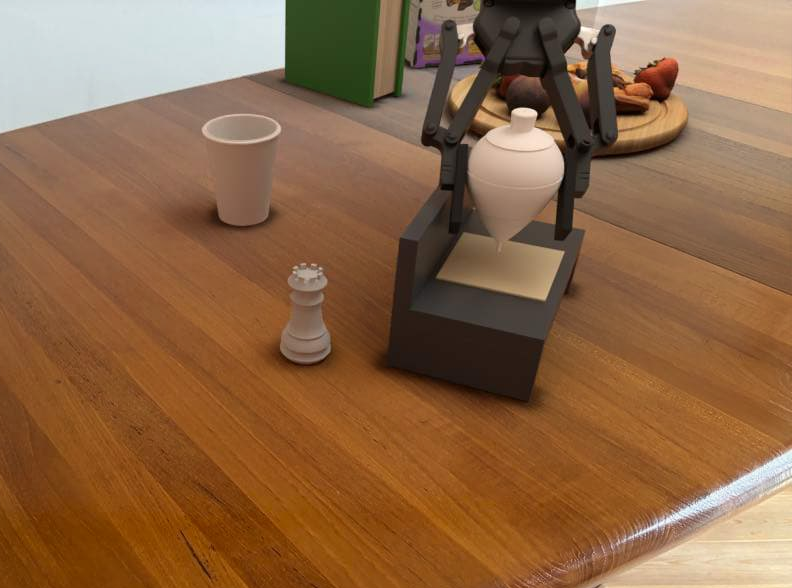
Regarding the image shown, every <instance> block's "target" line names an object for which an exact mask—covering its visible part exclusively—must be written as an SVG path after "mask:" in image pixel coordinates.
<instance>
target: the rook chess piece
mask: <svg viewBox="0 0 792 588" xmlns="http://www.w3.org/2000/svg"><path fill="white" fill-rule="evenodd" d="M287 283H288V285H289V287H290V288H291V289H292V292H291V293H290V296H289V299H290V301H291V303H292V304H291V306H292V307H291V312H290V317H289V321H288V322H287V323H286V326H285V328H284V329H283V330H282V332H281V336H280V345H279V350H280V352H281V353H282V355H283V356H284V357H285V358H286V359H287V360H288V361H290V362H293V363H295V364H299V365H312V364H317V363H319V362H321V361H323V360H325V358H326V357H327V356H328V355H329V354H330V352H332V351H331V350H332V349H331V348H332V345H331V334H330V332H329V330H328V329H327V326H326V324H325V323H324V320H323V312H322V302H323V301H324V299H325V295H324V293H323V292H322V291H323V289H324V288H325V287H326V286H327V285H328V279H327V277H326V276H325V275H324V269H323V267H322V266H319V267H318V264H317V263H311V264H310V267H307V263H306V262H304V263H299V266H297V265H295V266H294V267H292V273H291V275H289V276H288V278H287Z"/></svg>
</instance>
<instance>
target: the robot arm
mask: <svg viewBox="0 0 792 588" xmlns="http://www.w3.org/2000/svg"><path fill="white" fill-rule="evenodd" d="M616 33H617V29H616V27H615V26H614V25H613V24H611V23H607V24H604V25H602V26H601V28H600V29H597V28H593V27H587V26H584V25H582V22H581V20H580V18H579V16H578V13H577V0H481V1H480V12H479V14H478V16H477V17H476V18H475V20H474V22H473V23H467V24H460V25H456V22H455V21H453V20H449V19H448V20H445V21H444V22H443V23H442V27H441V32H440V39H439V49H440V57H441V59H440V63H439V66H437V67H438V68H437V71H436V74H435V79H434V81H433V86H432V90H431V94H430V98H429V101H428V104H427V109H426V112H425V115H424V116H425V117H424V120H423V124H422V129H421V136H420V143H421V145H422V146H423V147H426V148H430V147H432V148H435V149H437V150H438V151H439V153H440V158H441V159H440V167H439V179H438V185H439V186H440V189H441V190H445V191H452V198H451V209H450V220H449V231H448V234H458V231H459V229H460V226H461V222H462V211H463V200H464V189H465V178H466V167H467V156H468V147H469V143H462V142H463V140H464V138H465V136H466V135H467V132H469V131H468V130H470V129H469V127H470V125H471V123H472V122H473V120H474V118H475V116H476V114H477V112H478V111H479V109H480V107H481V105H482V103H483V101H484V100H485V98H486V96H487V94H488V92H489V90H490V89H491V87H492V86H493V84H494V83H495V81H496V79H497V77H498V75H499V73H501V74H500V76H508V77H510V76H515V75H523V76H527V77H535V78H539V80H540V82H541V85H542V87H543V89H544V90H546V92H547V95H548V98H549V100H550V103H551V106H552V108H553V111H554V114H555V117H556V119H557V122H558V125H559V128H560V130H561V133H562V136H563V138H564V141H565V144H566V147H567V149H568V150H567V152H566V153H564V155H563V156H562V157H563V160H564V177H563V179H562V183H561V185H560V188H559V189H558V191H557V198H556V211H555V222H554V224H555V235H554V240H555V241H564V240H565V239H566V238H567V236H568V235H569V234H570V232H571V231H572V227H573V224H574V209H575V199H582V198H583V197H584V196H585V194H586V193H587V191H588V189H589V187H590V179H591V163H592V158H593V157H596V156H600V157H603V156H606V155H608V154H607V153H608V152H609V150H610V149H611V147H612V146H613V145H614V143H615V142H616V140H617V139H618V127H617V117H616V107H615V96H614V86H613V76H612V66H611V63H612V58H611V51H612V47H613V44H614V41H615V37H616ZM470 40H473V41H474V43H475V44H476V46H477V47H478V49H479V50H480V51H481V53H482V54H483V56H484V57H485V61H484V63H483V65H482V67H481V69H480V68H479V71H478V72H477V73H478V75H477V77H476V78H475V80H474V82H473V84H472V86H471V88H470V89H469V91H468V93H467V95H466V97H465V99H464V100H463V102H462V104H461V106H460V108H459V110H458V111H457V113H456V115H455V117H454V116H453V118H452V121H451V122H450V124H449V126H448V128H447V127H444V126H441V122H442V117H443V114H444V109H445V106H446V103H447V99H448V96H449V91H450V87H451V83H452V79H453V75H454V72H455V67H456V65H455V62H456V58H457V55H459V54H461V53H463V52H464V51H465V48H466V44H467V43H468V42H469V41H470ZM575 44H577V45H578V46H579V47H580V52H581V53H580V54H581V56H582V59H583V60H584V61H587V62H588V63H587V84H588V94H589V105H590V115H591V126H592V135H591V132H590V130H589V127H588V124H587V122H586V119H585V116H584V114H583V111H582V108H581V106H580V103H579V100H578V98H577V95H576V92H575V89H574V87H573V84H572V81H571V79H570V76H569V73H568V70H567V65H568V61H567V58H566V56H565V54H566V53H567V52H568V51H570V49H571V48H572V47H573V45H575Z"/></svg>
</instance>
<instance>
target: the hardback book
mask: <svg viewBox="0 0 792 588" xmlns="http://www.w3.org/2000/svg"><path fill="white" fill-rule="evenodd" d="M284 3H285V4H284V5H285V9H284V27H285V28H284V30H285V31H284V81H285V82H288V83H291V84H294V85H297V86H301V87H302V88H306V89H309V90H313V91H316V92H319V93H322V94H326V95H328V96H332V97H335V98H338V99H340V100H341V99H342V100H345V101H348V102H351V103H354V104H357V105H360V106H364V107H367V108H370V107H373V106H374V99H377V98H380V97H382V96H386V95H390V96H393V97H400V96H402V93H403V83H404V71H405V63H406V61H405V52H406V41H407V31H408V20H409V10H410V0H284Z"/></svg>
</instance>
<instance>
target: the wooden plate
mask: <svg viewBox="0 0 792 588" xmlns="http://www.w3.org/2000/svg"><path fill="white" fill-rule="evenodd" d="M677 61H678V60H677V59H675V58H673V57H666V56H664V57H663V58H661V59H655V60H653V62H652V63H651V62H648V64H646V67H640V66H639V67H638V68H639V69H635V70H634V72H633V73H632V74H633V75H634V76H633V77H632V76H630V75H626V74H625V73H624V72H623V71H621V69H619V68H618V67H617V66H616V65H615V64H614V63H612V62H611V66H612V76H613V86H614V96H615V107H616V117H617V127H618V139H617V140H616V142H615V143H614V145H613V146H612V147H611V149H610V150H609V152H608V153H607V154H606V155H618V154H629V153H637V152H642V151H646V150H650V149H653V148H656V147H659V146H662V145H664V144H667V143H669V142H671V141H672V140H675V139H676V138H677V137H678V136H680V135H681V134H682V133H683V132H684V130H685V129H686V127H687V125H688V122H689V111H688V108H687V106H686V104H685V103H684V102H683V101H682V99H681V98H679V96H677V95H675V94H674V93H672V91H673V89H674V87H675V84H676V81H677V78H678V76H679V71H680V68H679V63H678V62H677ZM483 63H484V61H483V62H482V63H480V66H479V67H478V70H480V69H481V67H482V65H483ZM587 63H588V61H577V62H575V63H574V64H567V70H568V73H569V76H570V79H571V81H572V84H573V87H574V89H575V92H576V95H577V98H578V100H579V103H580V106H581V108H582V111H583V114H584V116H585V119H586V122H587V124H588V127H589V130H590V132H591V135H592V126H591V115H590V105H589V94H588V84H587ZM478 73H479V72H476V73H473V74H471V75H469V76H467V77H465V78H463V79H461V80H460V81H458V82H457V83H456V84H454V86H453V87H452V88H451V90H450V92H449V93H448V98H447V99H448V101H447V102H448V105H447V106H448V109H449V111H450V113H451V114H452V116H453V118H454V117H455V115H456V113H457V111H458V110H459V108H460V106H461V104H462V102H463V100H464V99H465V97H466V95H467V93H468V91H469V89H470V88H471V86H472V84H473V82H474V80H475V78H476V77H477V75H478ZM500 74H501V73H499V75H498V77H497V79H496V81H495V83H494V84H493V86H492V87H491V89H490V90H489V92H488V94H487V96H486V98H485V100H484V101H483V103H482V105H481V107H480V109H479V111H478V112H477V114H476V116H475V118H474V120H473V122H472V123H471V125H470V127H469V129H468V130H470V131H472V132H474V133H476V134H479V135H480V136H482V137H484V136H485V135H486V134H487V133H488V132H489V131H490V130H492V129H495V128H498V127H501V126H506V125H511V112H512V111H513V110H514V109H517V108H529V109H533V110H535V111H536V112H537V118H536V121H535V124H534V127H535V128H538V129H540V130H543V131H544V132H546V133H548V134H549V135H551V136H552V137H553V139H554V142H555V143H556V145H557V146H558V148H559V150H560V152H561V154H566V152H567V150H568V149H567V147H566V144H565V141H564V138H563V136H562V133H561V130H560V128H559V125H558V122H557V119H556V117H555V114H554V111H553V108H552V106H551V103H550V100H549V98H548V95H547V92H546V90H544V89H543V87H542V85H541V82H540V80H539V78H535V77H527V76H523V75H515V76H510V77H508V76H500Z"/></svg>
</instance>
